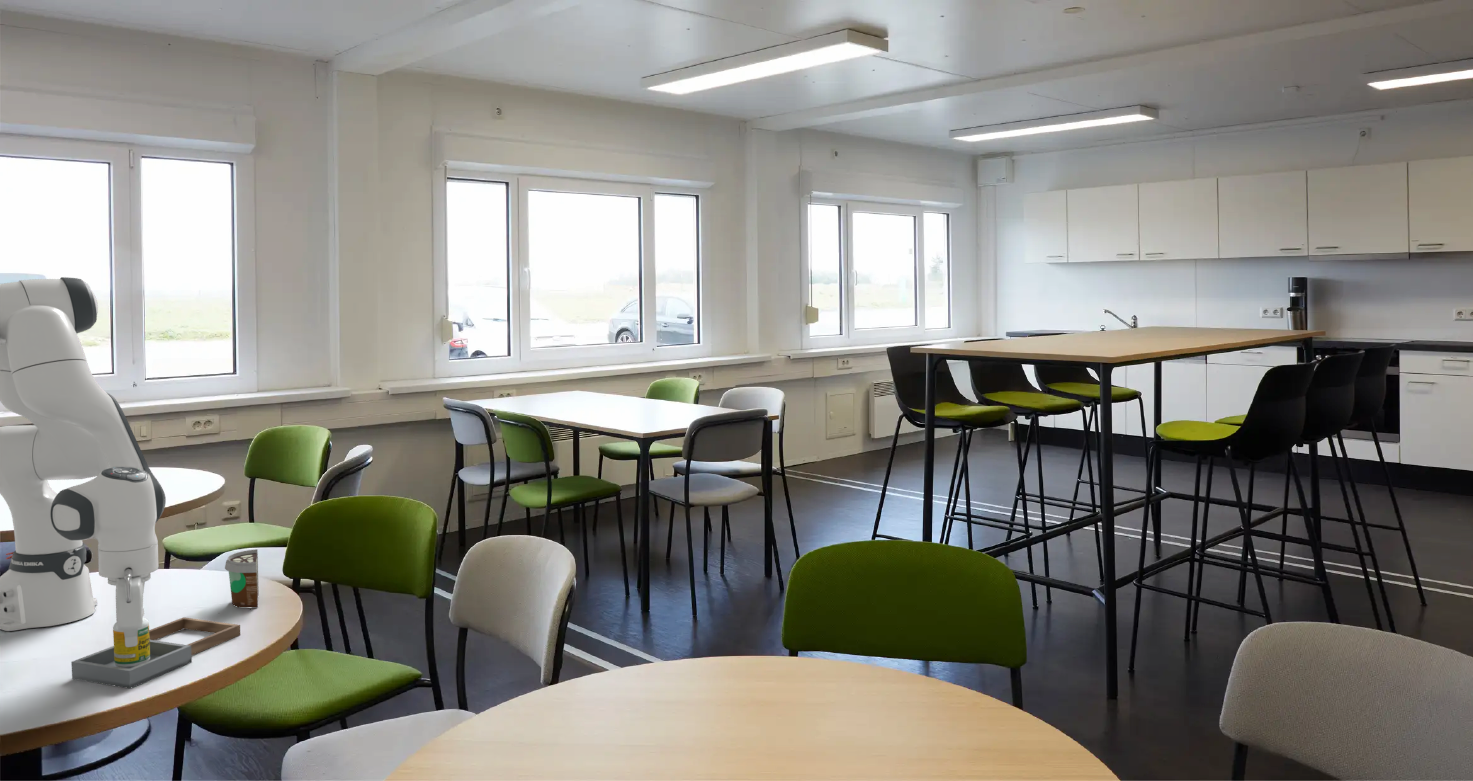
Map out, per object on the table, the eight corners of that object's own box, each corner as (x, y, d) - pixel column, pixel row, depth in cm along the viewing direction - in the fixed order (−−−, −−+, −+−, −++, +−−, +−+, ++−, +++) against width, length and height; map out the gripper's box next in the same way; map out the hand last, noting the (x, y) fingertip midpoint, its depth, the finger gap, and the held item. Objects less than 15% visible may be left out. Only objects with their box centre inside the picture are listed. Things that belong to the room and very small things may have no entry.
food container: (227, 596, 213) (225, 551, 212) (258, 593, 216) (257, 548, 215) (224, 613, 202) (222, 565, 201) (257, 609, 205) (256, 562, 204)
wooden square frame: (123, 650, 180) (122, 640, 180) (184, 627, 193) (183, 617, 193) (182, 659, 176) (182, 648, 176) (240, 635, 189) (240, 625, 189)
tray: (72, 678, 167) (71, 661, 166) (136, 653, 179) (135, 637, 179) (130, 688, 163) (129, 671, 163) (191, 662, 175) (191, 645, 175)
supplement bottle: (122, 658, 173) (121, 605, 172) (155, 656, 174) (153, 604, 173) (108, 669, 168) (106, 614, 167) (142, 668, 169) (140, 613, 168)
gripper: (150, 574, 162) (153, 655, 163) (149, 546, 179) (152, 619, 181) (104, 579, 159) (108, 662, 160) (109, 550, 176) (112, 624, 178)
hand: (131, 639), depth 171 cm, fingers closed on supplement bottle, 5 cm apart
